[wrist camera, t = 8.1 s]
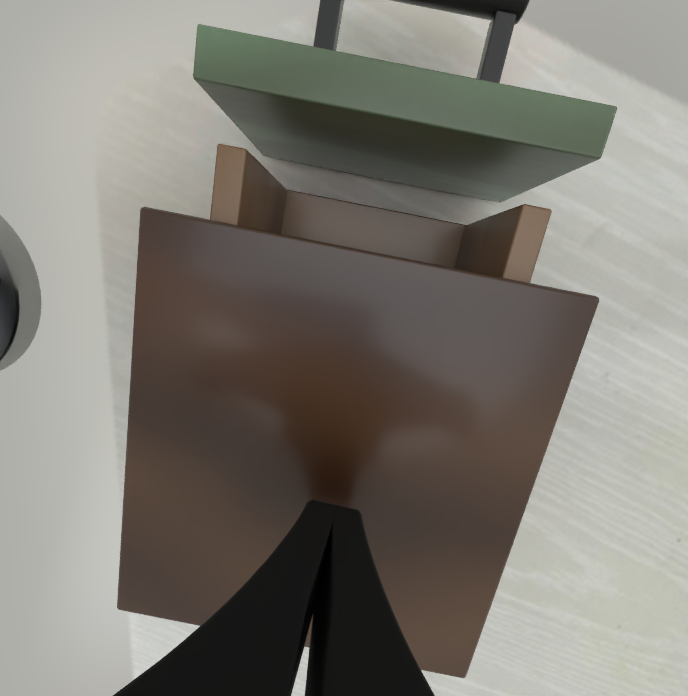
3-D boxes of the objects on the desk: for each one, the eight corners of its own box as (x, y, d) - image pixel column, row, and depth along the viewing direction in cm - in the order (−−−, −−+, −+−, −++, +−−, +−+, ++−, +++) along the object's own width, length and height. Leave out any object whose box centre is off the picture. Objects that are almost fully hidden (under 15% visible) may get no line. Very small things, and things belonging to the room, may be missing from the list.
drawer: (282, 9, 14) (215, -205, 8) (539, 60, 14) (690, -111, 8) (234, 379, 18) (160, 447, 11) (440, 420, 18) (486, 511, 11)
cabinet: (246, 233, 17) (138, 205, 9) (485, 280, 17) (602, 297, 9) (217, 467, 20) (115, 610, 12) (422, 507, 20) (466, 680, 12)
